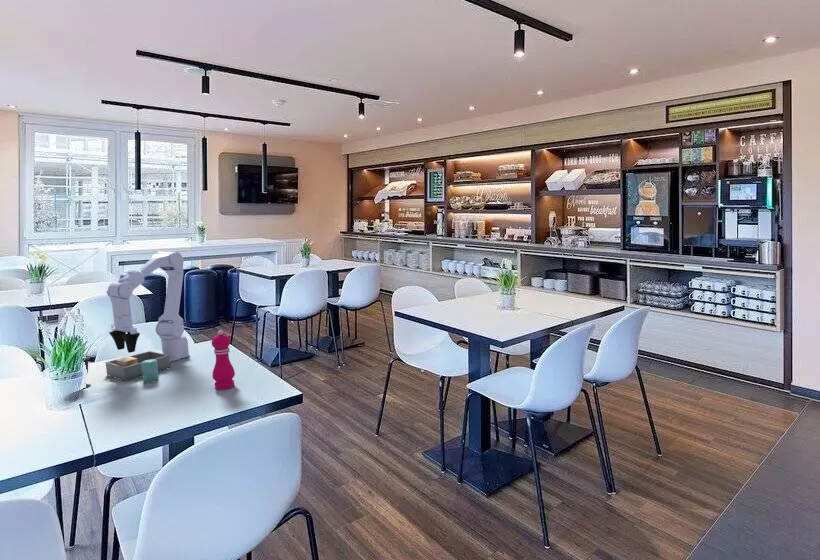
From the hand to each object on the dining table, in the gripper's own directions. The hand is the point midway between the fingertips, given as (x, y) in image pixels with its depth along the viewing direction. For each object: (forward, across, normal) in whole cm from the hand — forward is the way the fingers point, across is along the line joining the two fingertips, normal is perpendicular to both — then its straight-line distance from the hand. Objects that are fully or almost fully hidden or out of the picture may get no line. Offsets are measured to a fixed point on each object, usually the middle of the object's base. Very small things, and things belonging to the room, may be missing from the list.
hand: (126, 350), depth 190 cm
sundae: (+10, -1, -16) cm, 18 cm away
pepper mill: (+10, +43, +10) cm, 45 cm away
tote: (+9, 0, +4) cm, 10 cm away
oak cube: (+8, 0, 0) cm, 8 cm away
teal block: (+9, +14, +1) cm, 16 cm away
